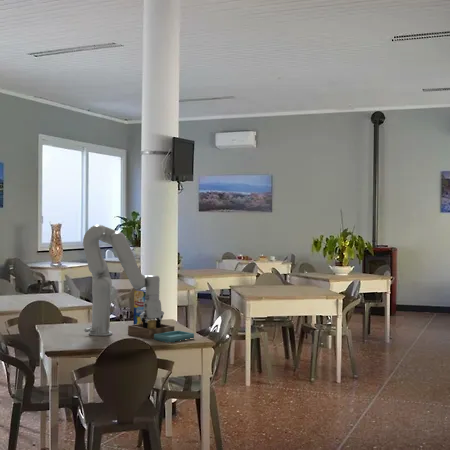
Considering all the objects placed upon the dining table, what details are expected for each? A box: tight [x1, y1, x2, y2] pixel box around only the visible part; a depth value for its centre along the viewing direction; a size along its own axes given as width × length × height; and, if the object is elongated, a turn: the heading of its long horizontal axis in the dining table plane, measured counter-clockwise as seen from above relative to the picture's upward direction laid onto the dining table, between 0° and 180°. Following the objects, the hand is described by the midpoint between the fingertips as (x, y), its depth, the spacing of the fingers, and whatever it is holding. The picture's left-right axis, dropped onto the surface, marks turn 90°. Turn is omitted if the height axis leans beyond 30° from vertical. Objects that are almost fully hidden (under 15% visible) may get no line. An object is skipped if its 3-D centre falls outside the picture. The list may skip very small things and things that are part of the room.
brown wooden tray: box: [127, 323, 175, 340], centre depth 351 cm, size 18×18×5 cm
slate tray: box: [153, 330, 195, 343], centre depth 340 cm, size 18×12×3 cm, turn 139°
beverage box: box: [132, 289, 156, 325], centre depth 373 cm, size 7×11×22 cm, turn 53°
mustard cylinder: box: [147, 319, 157, 329], centre depth 351 cm, size 5×5×8 cm
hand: (151, 328), depth 351 cm, fingers open, 9 cm apart
